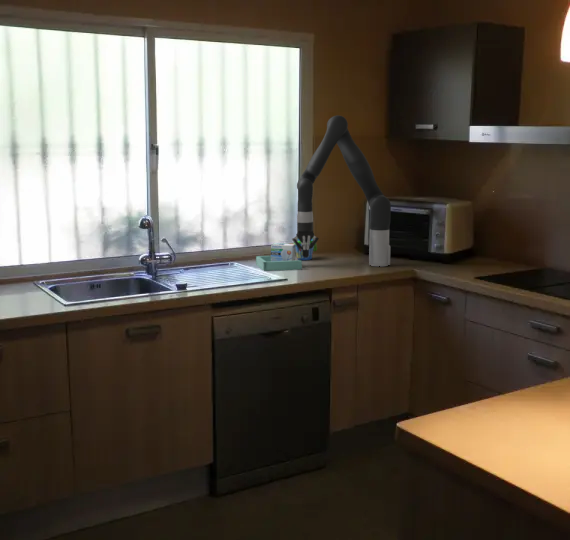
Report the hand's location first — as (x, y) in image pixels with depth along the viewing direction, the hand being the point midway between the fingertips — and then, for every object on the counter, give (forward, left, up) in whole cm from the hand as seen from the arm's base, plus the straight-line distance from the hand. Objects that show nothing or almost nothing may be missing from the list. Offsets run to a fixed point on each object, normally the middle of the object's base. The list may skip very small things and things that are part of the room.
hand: (305, 257), depth 358 cm
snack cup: (-4, -18, -4) cm, 19 cm away
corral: (+13, 0, -4) cm, 14 cm away
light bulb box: (+11, 0, -4) cm, 12 cm away
